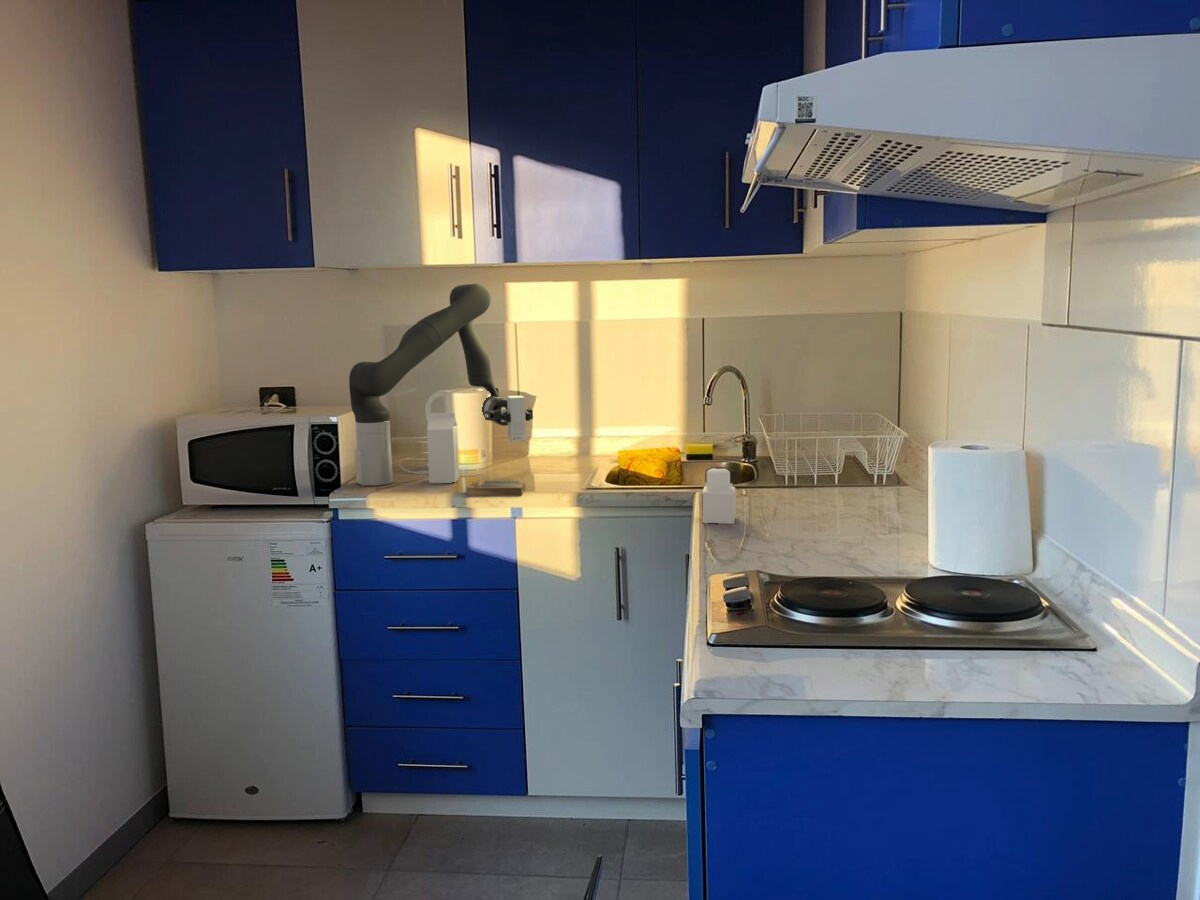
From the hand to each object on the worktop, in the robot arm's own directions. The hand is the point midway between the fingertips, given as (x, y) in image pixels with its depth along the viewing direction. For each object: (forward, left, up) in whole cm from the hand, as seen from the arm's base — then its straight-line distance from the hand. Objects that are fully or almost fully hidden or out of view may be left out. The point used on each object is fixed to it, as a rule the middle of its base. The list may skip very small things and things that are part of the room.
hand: (519, 417), depth 284 cm
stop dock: (-9, -6, -18) cm, 21 cm away
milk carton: (-18, +12, -18) cm, 28 cm away
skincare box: (0, +3, -7) cm, 7 cm away
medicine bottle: (+19, -68, -18) cm, 73 cm away
